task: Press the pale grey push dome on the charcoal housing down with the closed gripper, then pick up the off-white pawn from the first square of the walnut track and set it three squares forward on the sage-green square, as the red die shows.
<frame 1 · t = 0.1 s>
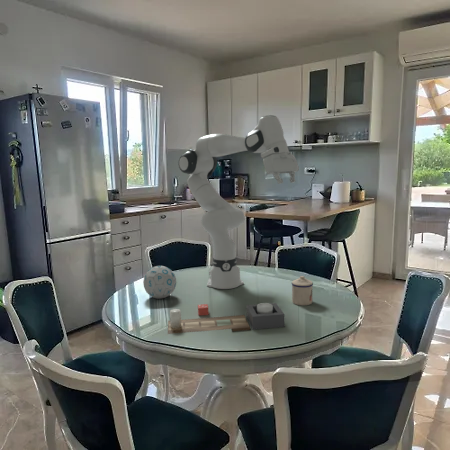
hand: (287, 182, 160), 52 cm above the table, tool tilted 20°, fingers open, 8 cm apart
dome housing: (265, 321, 146), on the table
die: (203, 315, 154), on the table
pawn: (175, 326, 142), point 1 cm above the table, touching board
push dome: (264, 309, 146), point 5 cm above the table, slide at 0.0 cm
board: (208, 326, 144), on the table
teacup with lid: (301, 301, 168), on the table
puzzle ball: (160, 297, 178), on the table
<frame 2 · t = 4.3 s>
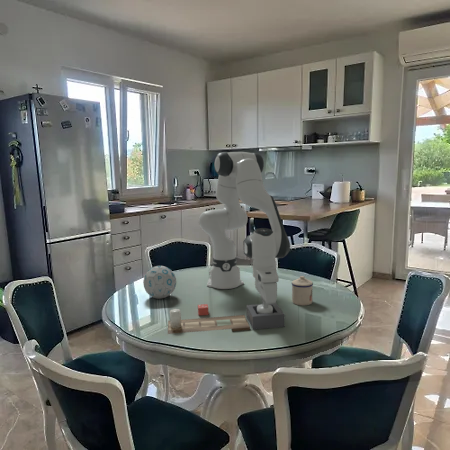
hand: (265, 307, 145), 6 cm above the table, tool pointing down, fingers closed, pressing on push dome
push dome: (264, 310, 146), point 4 cm above the table, slide at -0.5 cm, touching gripper
everything else where it was.
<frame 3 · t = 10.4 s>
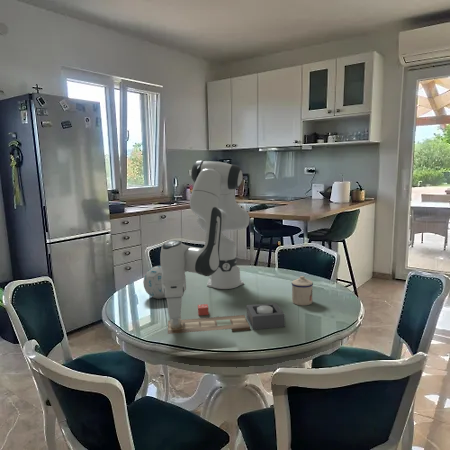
hand: (175, 321, 142), 3 cm above the table, tool pointing down, fingers closed on pawn, 4 cm apart
pawn: (175, 326, 142), point 1 cm above the table, touching board, gripper
push dome: (264, 312, 146), point 4 cm above the table, slide at -1.0 cm
everything else where it was.
when the fingers open (4 cm above the table, at t = 16.4 s): pawn stays where it is, resting on board.
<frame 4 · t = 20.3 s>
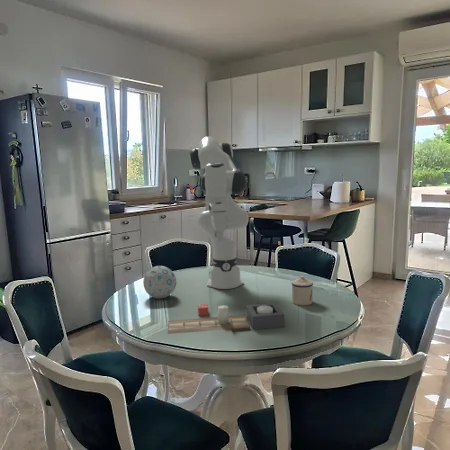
hand: (218, 239, 151), 31 cm above the table, tool pointing down, fingers open, 8 cm apart
pawn: (223, 322, 144), point 1 cm above the table, touching board
everything else where it was.
at the end: push dome slide at -1.0 cm; pawn 0.1 cm from the target spot, point 1.1 cm above the table; pawn tilted 1° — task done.
